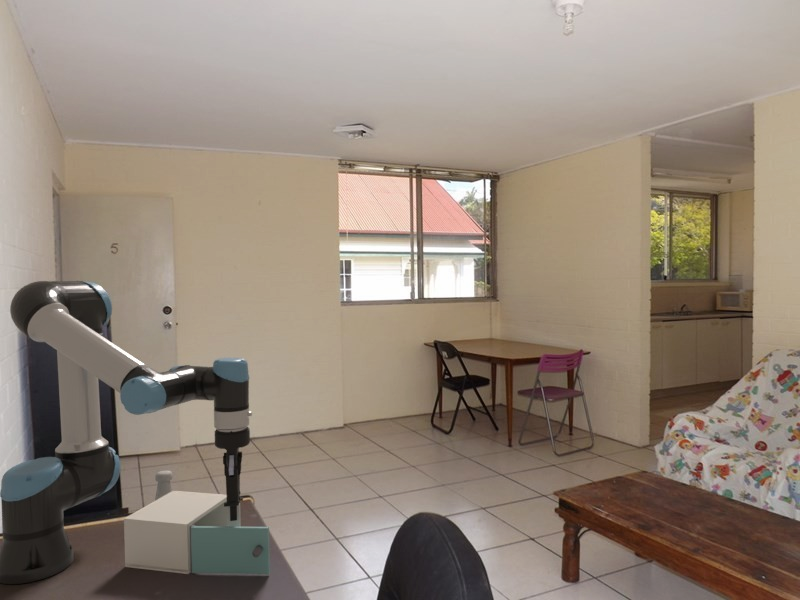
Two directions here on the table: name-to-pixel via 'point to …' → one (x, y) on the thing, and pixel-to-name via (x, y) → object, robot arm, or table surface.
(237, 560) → the side door
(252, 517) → the table surface
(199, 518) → the storage box
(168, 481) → the salt shaker
